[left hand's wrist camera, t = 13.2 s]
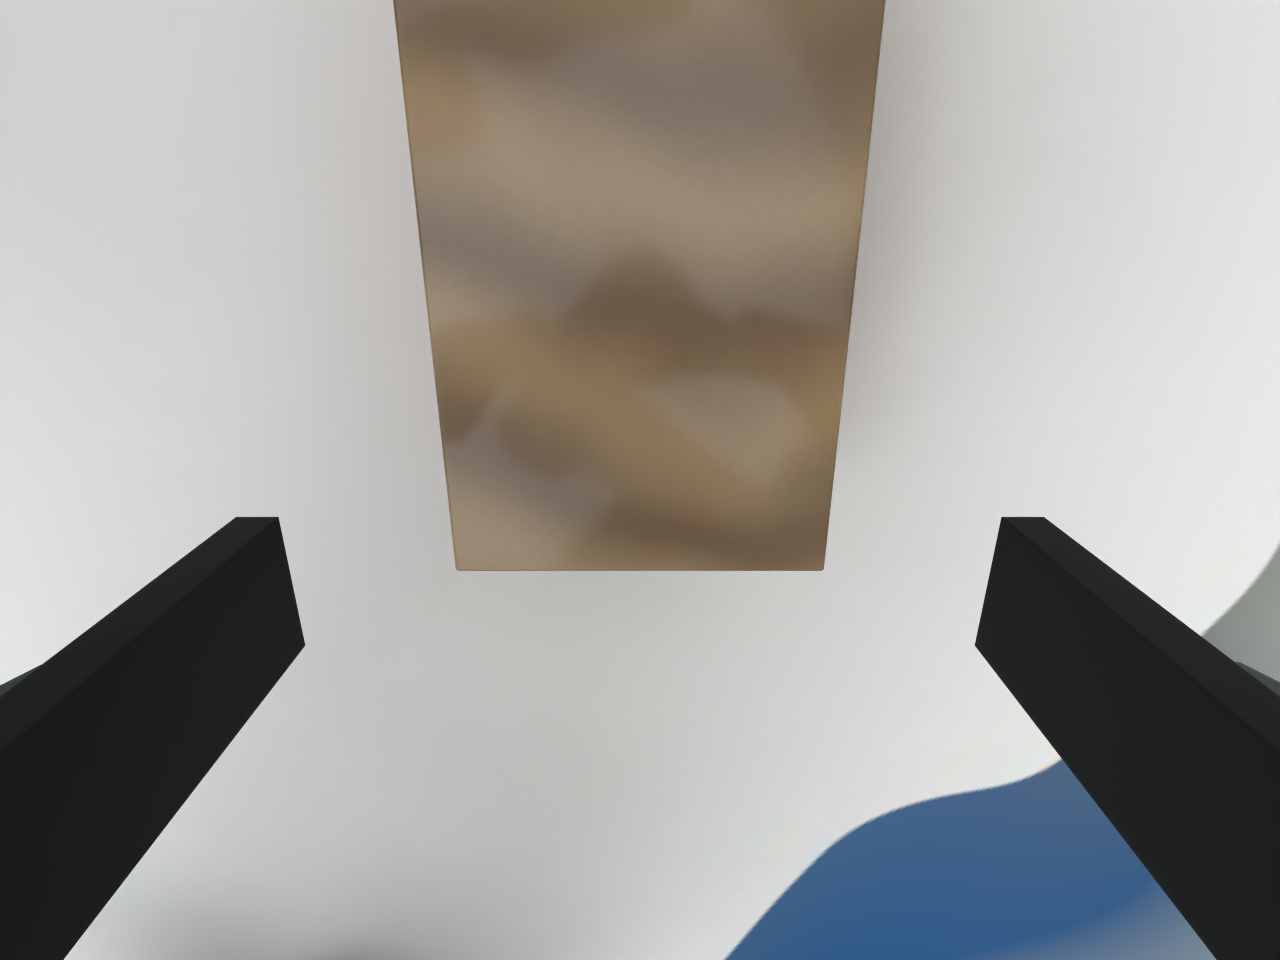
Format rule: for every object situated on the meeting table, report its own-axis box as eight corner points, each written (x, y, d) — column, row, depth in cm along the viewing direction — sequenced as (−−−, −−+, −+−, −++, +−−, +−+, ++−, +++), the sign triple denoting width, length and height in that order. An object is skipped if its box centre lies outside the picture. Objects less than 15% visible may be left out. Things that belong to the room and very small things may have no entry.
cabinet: (472, -13, 22) (376, -139, 14) (807, -14, 22) (901, -140, 14) (508, 468, 28) (455, 571, 20) (772, 468, 28) (824, 571, 20)
